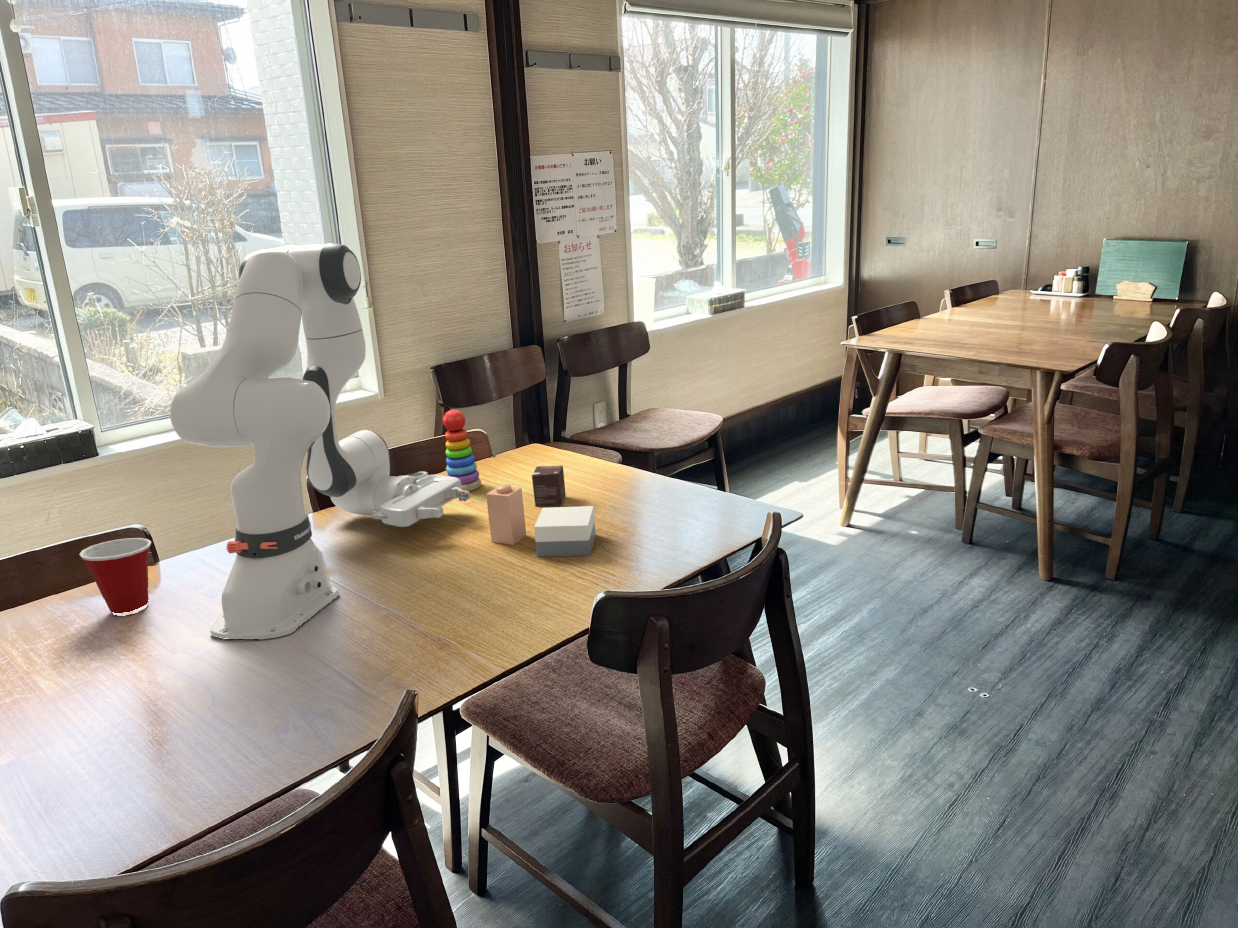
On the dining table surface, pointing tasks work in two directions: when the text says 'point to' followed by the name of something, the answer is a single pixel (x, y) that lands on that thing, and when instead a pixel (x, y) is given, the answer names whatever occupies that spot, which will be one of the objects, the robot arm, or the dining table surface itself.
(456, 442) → the stacking toy
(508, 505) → the tall brick
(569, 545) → the tower base
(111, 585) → the plastic cup
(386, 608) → the dining table surface
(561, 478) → the box
